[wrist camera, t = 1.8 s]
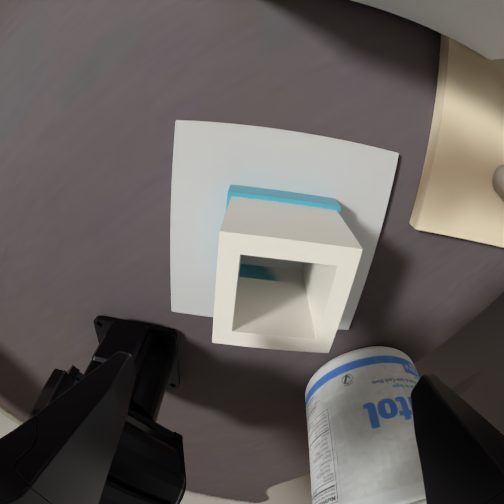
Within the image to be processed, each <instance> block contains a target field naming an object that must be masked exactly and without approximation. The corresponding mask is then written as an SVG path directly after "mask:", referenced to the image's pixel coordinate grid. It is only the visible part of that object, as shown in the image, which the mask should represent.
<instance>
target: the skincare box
mask: <svg viewBox="0 0 504 504" xmlns="http://www.w3.org/2000/svg"><path fill="white" fill-rule="evenodd" d="M351 1H355V2H358V3H362V4H365V5H368V6H372V7H375V8H378V9H381V10H384V11H387V12H390V13H393V14H396V15H398V16H401V17H404V18H406V19H409V20H411V21H414V22H416V23H419V24H421V25H423V26H426V27H428V28H430V29H432V30H435V31H437V32H439V33H441V34H443V35H445V36H447V37H449V38H451V39H453V40H455V41H457V42H459V43H461V44H463V45H465V46H467V47H468V48H470V49H472V50H474V51H476V52H477V53H479V54H481V55H482V56H484V57H485V58H487V59H489V60H494V59H504V0H351Z"/></svg>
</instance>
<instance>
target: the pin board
mask: <svg viewBox="0 0 504 504" xmlns="http://www.w3.org/2000/svg"><path fill="white" fill-rule="evenodd" d="M409 224H410V225H412V226H413V227H414V228H415V229H416V230H421V231H426V232H431V233H437V234H442V235H447V236H452V237H457V238H462V239H466V240H471V241H476V242H480V243H485V244H490V245H494V246H498V247H503V248H504V59H494V60H489V59H487V58H485V57H484V56H482V55H481V54H479V53H477V52H476V51H474V50H472V49H470V48H468V47H467V46H465V45H463V44H461V43H459V42H457V41H455V40H453V39H451V38H449V37H447V36H445V35H443V34H441V45H440V60H439V72H438V82H437V91H436V99H435V106H434V113H433V119H432V126H431V131H430V137H429V142H428V148H427V153H426V158H425V162H424V167H423V172H422V176H421V180H420V184H419V189H418V193H417V197H416V200H415V204H414V208H413V212H412V215H411V219H410V222H409Z"/></svg>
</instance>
